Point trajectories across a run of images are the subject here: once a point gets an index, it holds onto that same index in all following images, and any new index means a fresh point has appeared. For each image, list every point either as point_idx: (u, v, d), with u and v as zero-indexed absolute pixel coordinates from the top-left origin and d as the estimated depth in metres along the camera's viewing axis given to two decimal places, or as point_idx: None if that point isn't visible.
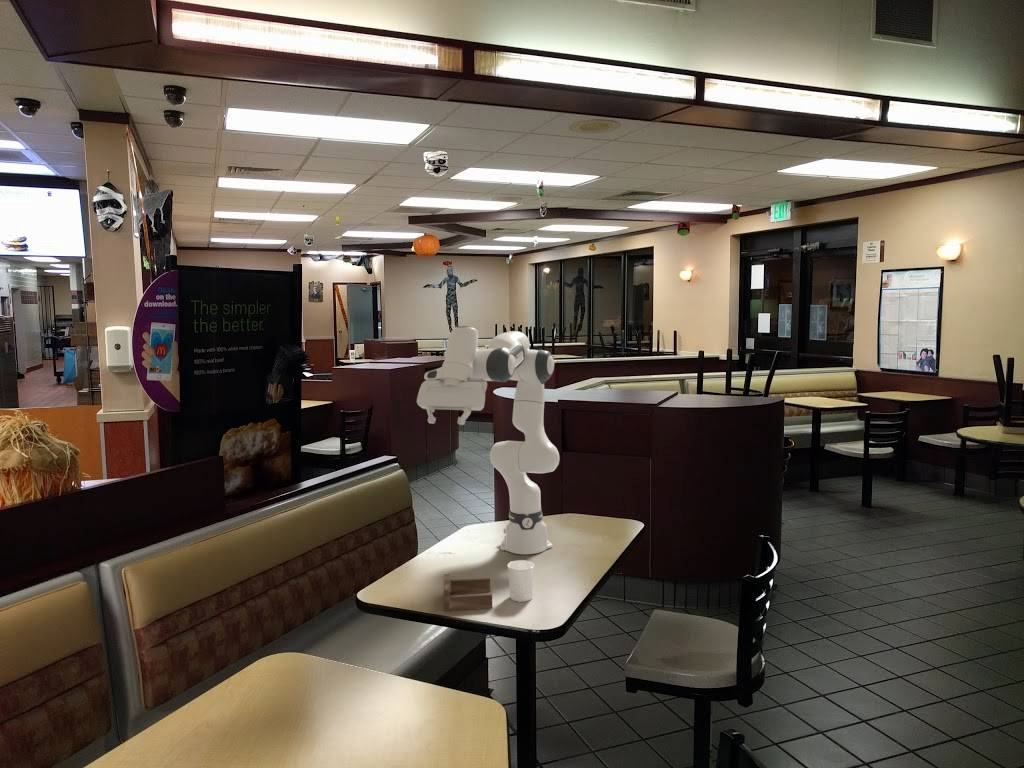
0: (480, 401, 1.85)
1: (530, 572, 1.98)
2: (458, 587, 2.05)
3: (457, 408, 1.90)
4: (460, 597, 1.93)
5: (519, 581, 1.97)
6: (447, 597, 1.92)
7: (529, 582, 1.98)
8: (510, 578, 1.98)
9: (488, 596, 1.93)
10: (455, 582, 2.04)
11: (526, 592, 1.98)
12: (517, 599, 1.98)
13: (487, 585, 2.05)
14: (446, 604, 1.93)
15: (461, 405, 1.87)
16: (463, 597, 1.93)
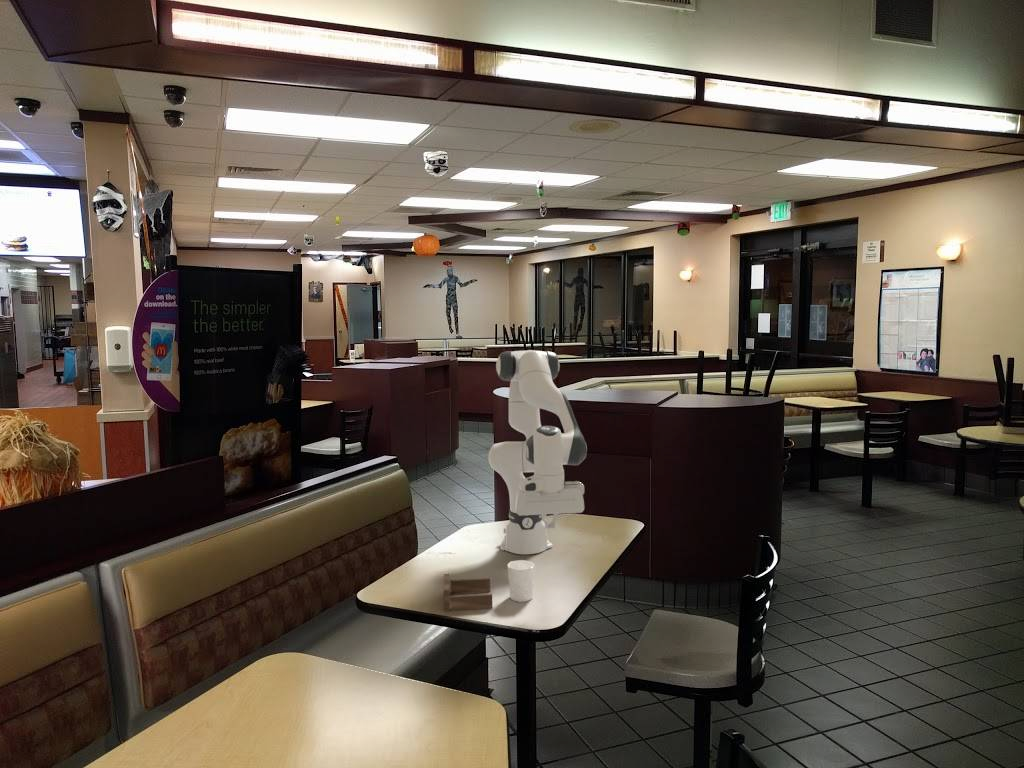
0: (583, 506, 1.99)
1: (530, 572, 1.98)
2: (458, 587, 2.05)
3: None
4: (460, 597, 1.93)
5: (519, 581, 1.97)
6: (447, 597, 1.92)
7: (529, 582, 1.98)
8: (510, 578, 1.98)
9: (488, 596, 1.93)
10: (455, 582, 2.04)
11: (526, 592, 1.98)
12: (517, 599, 1.98)
13: (487, 585, 2.05)
14: (446, 604, 1.93)
15: (566, 512, 1.98)
16: (463, 597, 1.93)
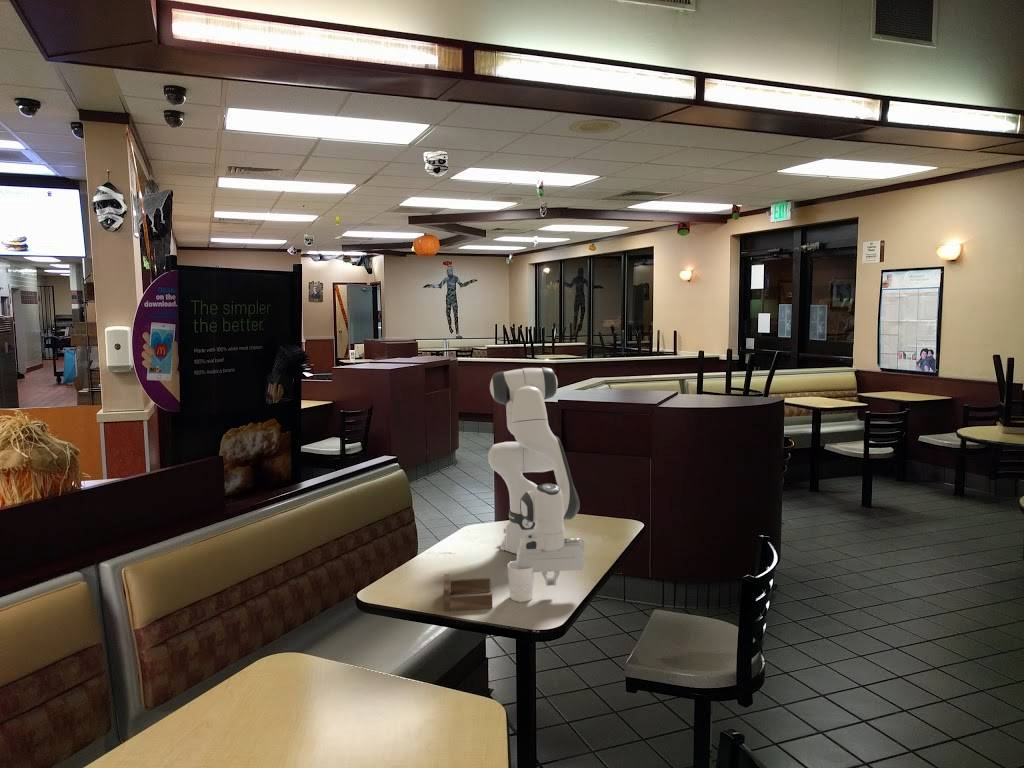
0: None
1: (530, 572, 1.98)
2: (458, 587, 2.05)
3: None
4: (460, 597, 1.93)
5: (519, 581, 1.97)
6: (447, 597, 1.92)
7: (529, 582, 1.98)
8: (510, 578, 1.98)
9: (488, 596, 1.93)
10: (455, 582, 2.04)
11: (526, 592, 1.98)
12: (517, 599, 1.98)
13: (487, 585, 2.05)
14: (446, 604, 1.93)
15: (566, 570, 1.99)
16: (463, 597, 1.93)
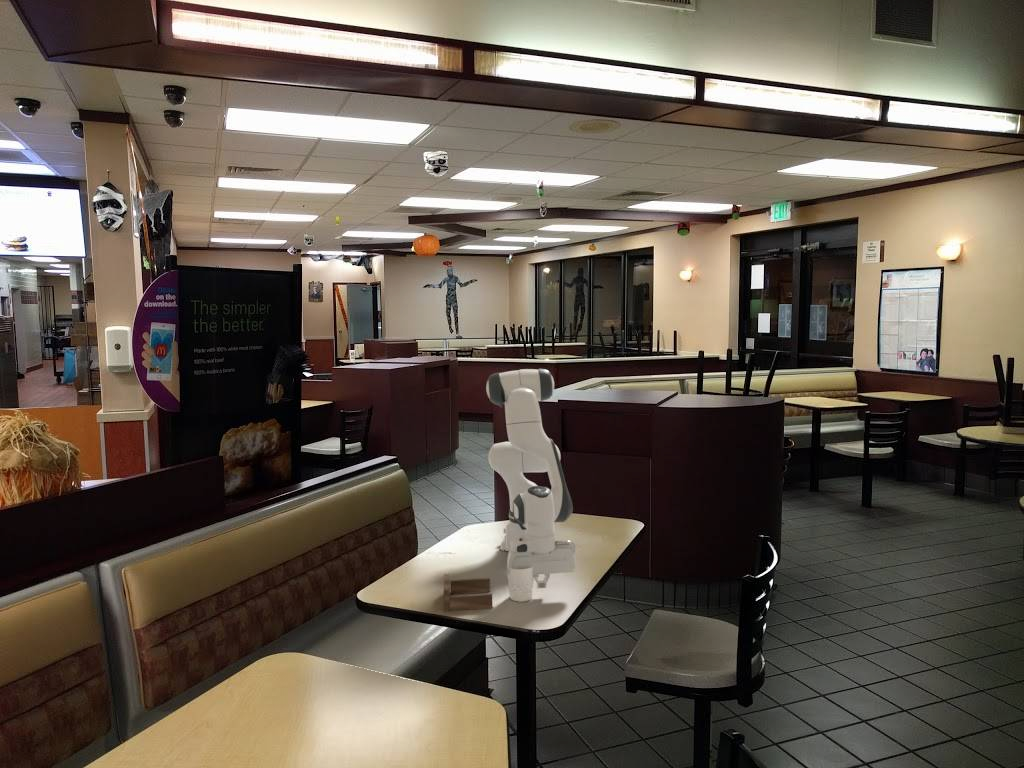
0: None
1: (530, 571, 1.97)
2: (458, 587, 2.05)
3: None
4: (460, 597, 1.93)
5: (518, 581, 1.97)
6: (447, 597, 1.92)
7: (528, 582, 1.97)
8: (509, 578, 1.98)
9: (488, 596, 1.93)
10: (455, 582, 2.04)
11: (525, 592, 1.97)
12: (516, 599, 1.98)
13: (487, 585, 2.05)
14: (446, 604, 1.93)
15: (557, 572, 1.99)
16: (463, 597, 1.93)
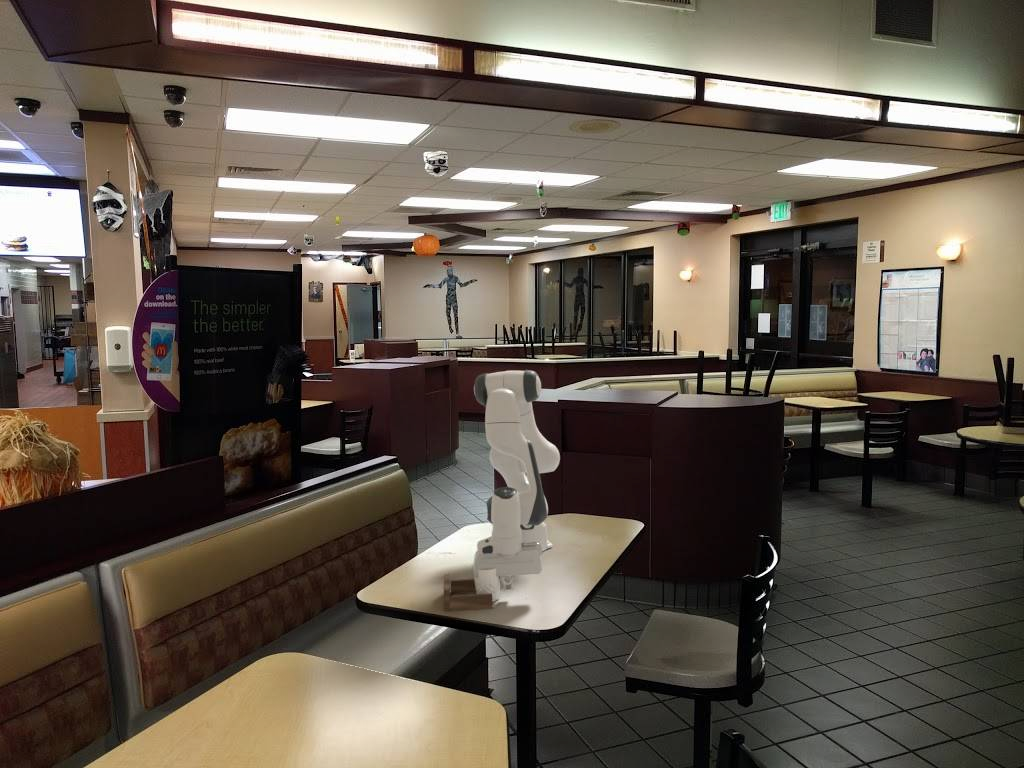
0: (541, 567, 1.99)
1: (493, 573, 1.97)
2: (458, 587, 2.05)
3: None
4: (460, 597, 1.93)
5: (481, 581, 1.97)
6: (447, 597, 1.92)
7: (491, 583, 1.97)
8: (474, 578, 1.99)
9: (488, 596, 1.93)
10: (455, 582, 2.04)
11: (489, 593, 1.97)
12: None
13: None
14: (446, 604, 1.93)
15: (523, 574, 1.98)
16: (463, 597, 1.93)
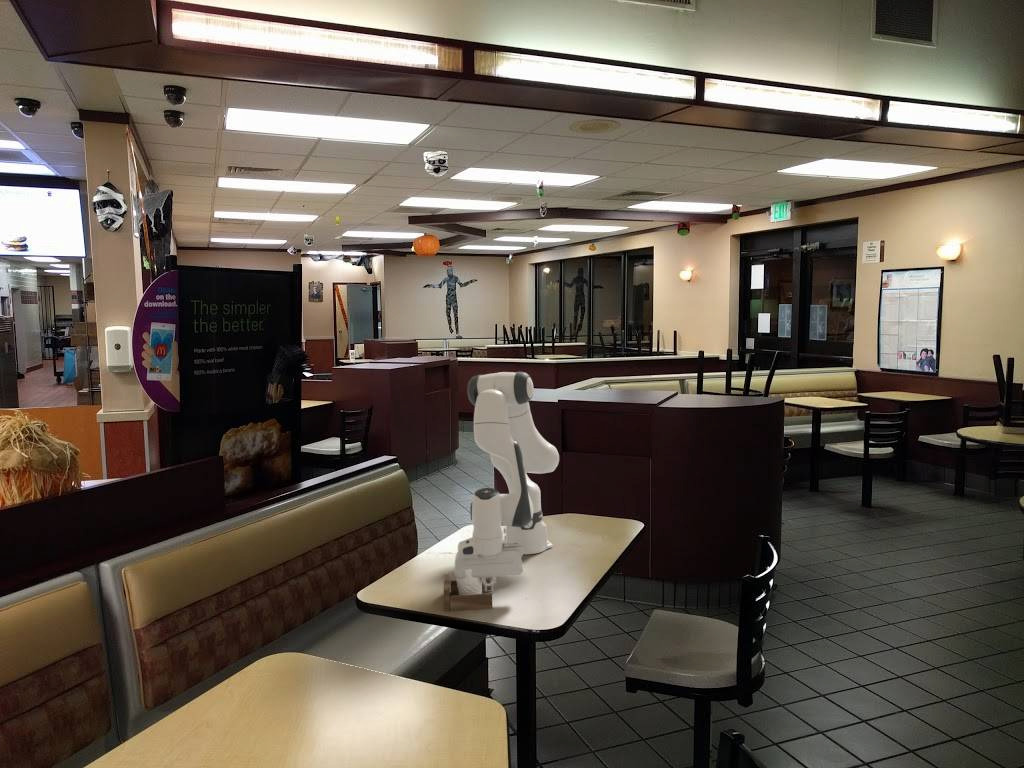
0: (522, 568, 1.99)
1: None
2: None
3: None
4: (460, 597, 1.93)
5: (460, 581, 1.98)
6: (447, 597, 1.92)
7: (470, 583, 1.97)
8: None
9: (488, 596, 1.93)
10: (455, 582, 2.04)
11: (468, 593, 1.97)
12: None
13: None
14: (446, 604, 1.93)
15: (504, 575, 1.98)
16: (463, 597, 1.93)
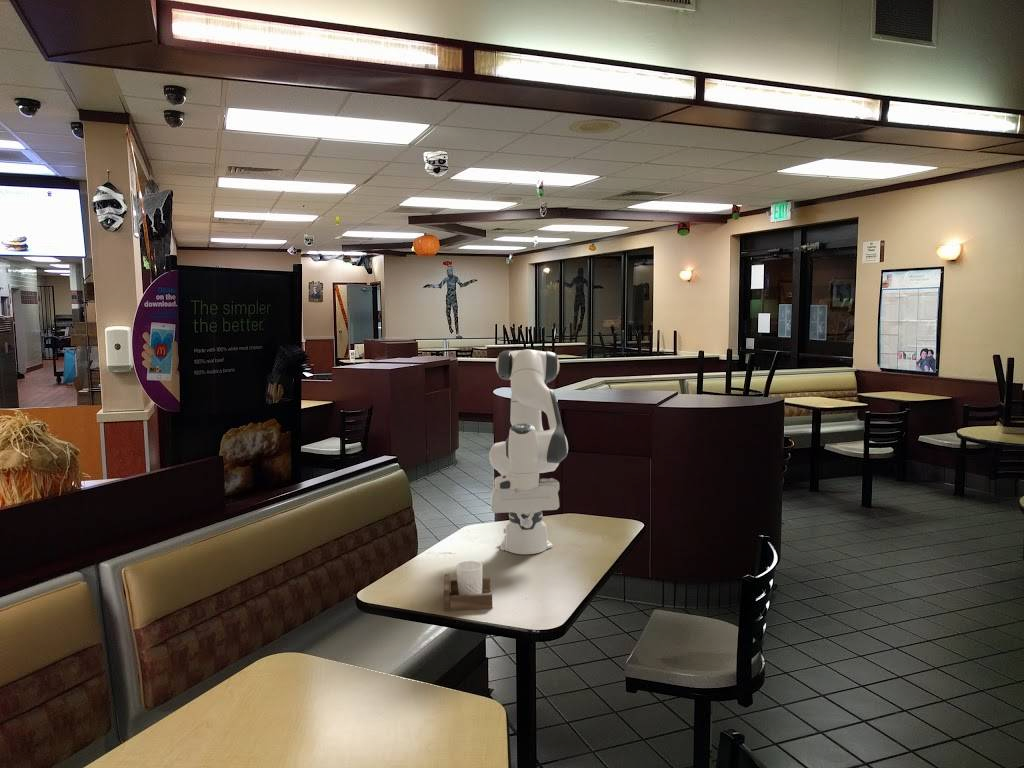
0: None
1: (473, 574, 1.97)
2: None
3: None
4: (460, 597, 1.93)
5: (461, 581, 1.98)
6: (447, 597, 1.92)
7: (471, 584, 1.97)
8: None
9: (488, 596, 1.93)
10: (455, 582, 2.04)
11: (469, 593, 1.98)
12: None
13: (487, 585, 2.05)
14: (446, 604, 1.93)
15: (541, 510, 1.98)
16: (463, 597, 1.93)
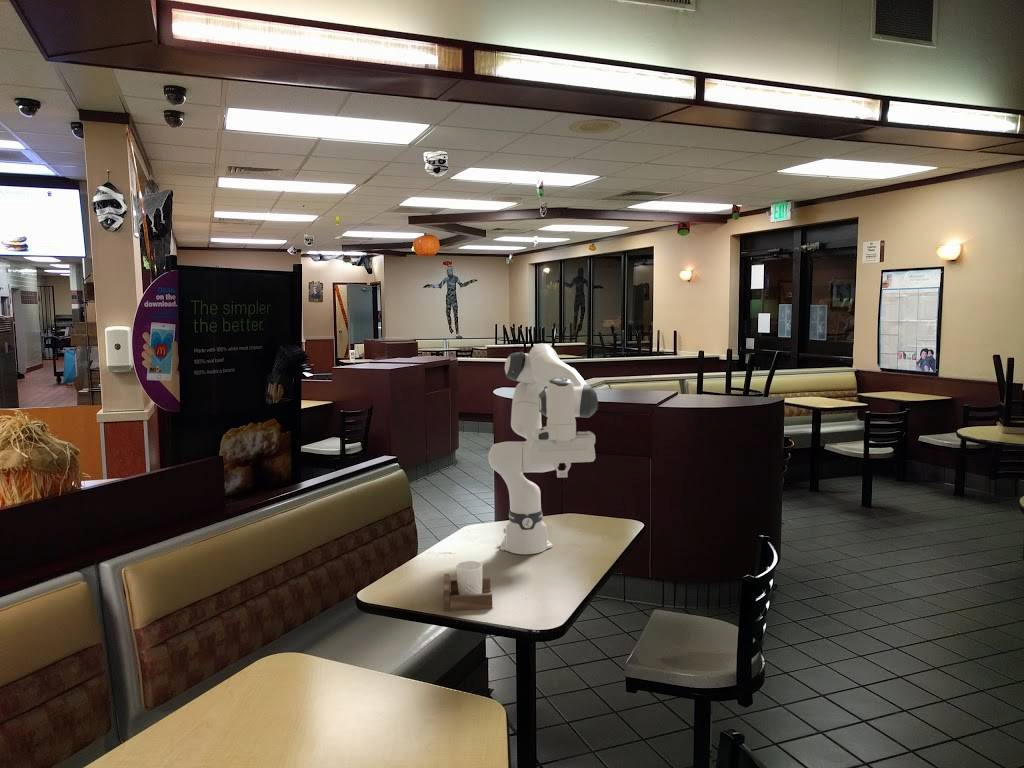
0: None
1: (473, 574, 1.97)
2: None
3: None
4: (460, 597, 1.93)
5: (461, 581, 1.98)
6: (447, 597, 1.92)
7: (472, 584, 1.97)
8: None
9: (488, 596, 1.93)
10: (455, 582, 2.04)
11: (469, 593, 1.98)
12: None
13: (487, 585, 2.05)
14: (446, 604, 1.93)
15: (578, 461, 2.04)
16: (463, 597, 1.93)
